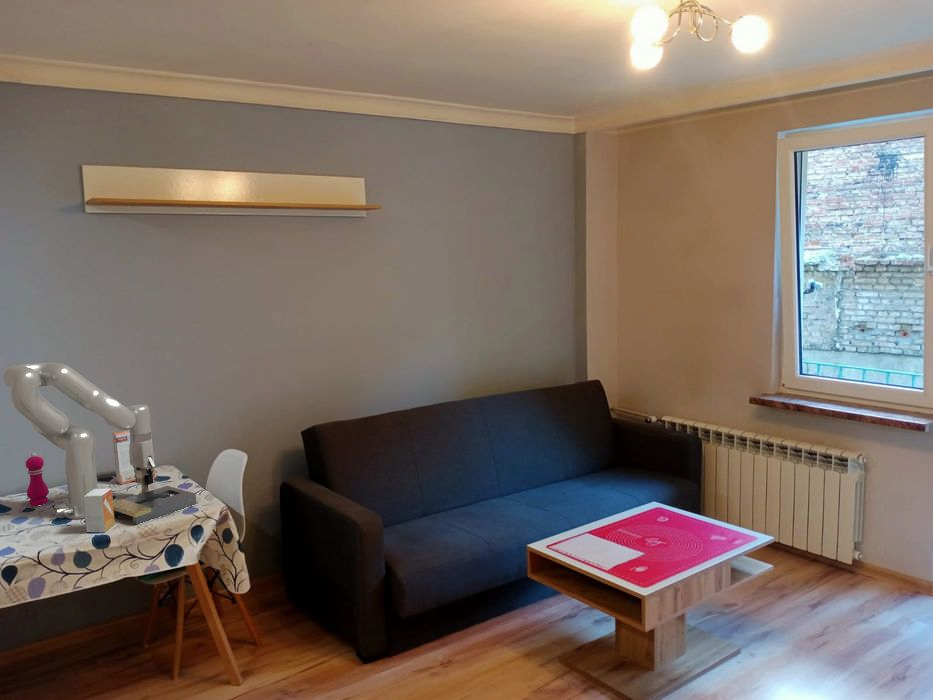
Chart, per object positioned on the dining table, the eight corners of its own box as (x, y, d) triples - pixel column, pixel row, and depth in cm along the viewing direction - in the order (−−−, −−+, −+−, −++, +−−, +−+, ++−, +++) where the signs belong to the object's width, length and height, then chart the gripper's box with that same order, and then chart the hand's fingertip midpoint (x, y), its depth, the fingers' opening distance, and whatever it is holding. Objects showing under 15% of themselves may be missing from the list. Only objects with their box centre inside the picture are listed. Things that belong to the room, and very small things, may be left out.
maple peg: (143, 500, 280) (141, 472, 279) (136, 498, 283) (133, 470, 282) (155, 496, 285) (153, 469, 283) (148, 494, 287) (145, 467, 286)
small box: (105, 532, 249) (102, 495, 247) (86, 533, 248) (82, 496, 246) (115, 523, 257) (112, 487, 255) (96, 524, 256) (93, 488, 254)
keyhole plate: (136, 525, 254) (135, 513, 254) (108, 515, 265) (106, 503, 264) (196, 505, 274) (195, 493, 273) (168, 496, 284) (167, 485, 283)
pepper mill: (29, 508, 274) (24, 456, 272) (26, 503, 280) (20, 452, 277) (51, 504, 279) (46, 452, 276) (47, 499, 284) (42, 449, 282)
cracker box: (151, 474, 314) (147, 426, 311) (155, 477, 309) (151, 429, 307) (116, 481, 305) (111, 432, 302) (120, 485, 300) (116, 435, 298)
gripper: (119, 436, 283) (123, 482, 285) (144, 442, 273) (148, 489, 275) (137, 432, 289) (141, 477, 291) (162, 437, 279) (166, 484, 281)
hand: (144, 482), depth 283 cm, fingers open, 5 cm apart
